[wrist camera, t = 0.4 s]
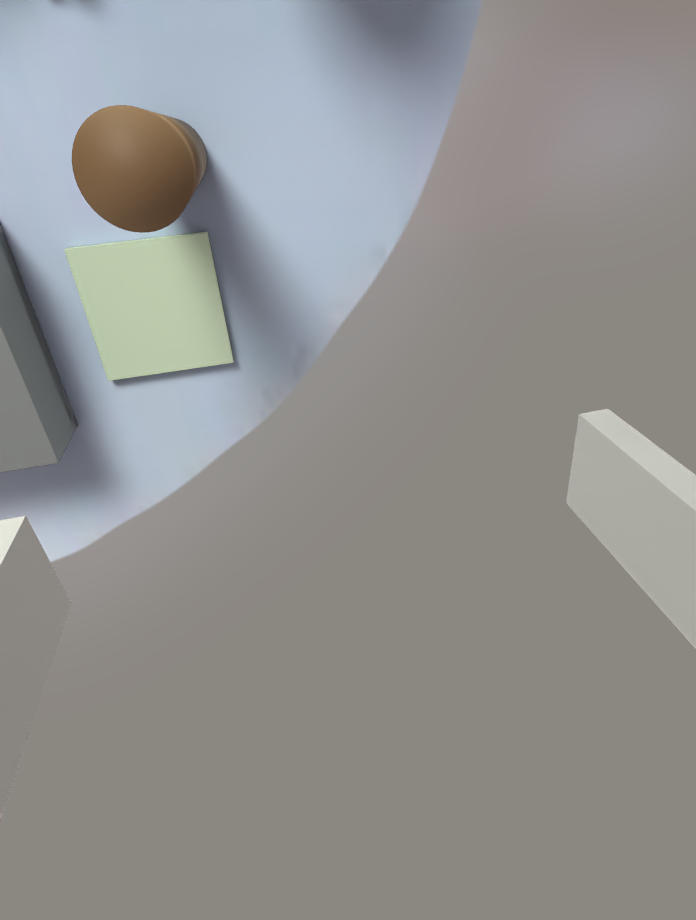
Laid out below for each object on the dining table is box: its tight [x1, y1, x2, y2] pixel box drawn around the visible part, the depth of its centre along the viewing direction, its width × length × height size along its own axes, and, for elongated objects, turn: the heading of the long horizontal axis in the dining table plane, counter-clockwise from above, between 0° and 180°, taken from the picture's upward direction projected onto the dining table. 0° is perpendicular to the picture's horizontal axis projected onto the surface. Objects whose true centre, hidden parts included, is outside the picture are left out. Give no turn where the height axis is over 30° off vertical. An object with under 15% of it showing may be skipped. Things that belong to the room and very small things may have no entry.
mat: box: [64, 232, 234, 381], centre depth 34 cm, size 8×8×1 cm
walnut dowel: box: [72, 105, 207, 232], centre depth 24 cm, size 4×4×15 cm
